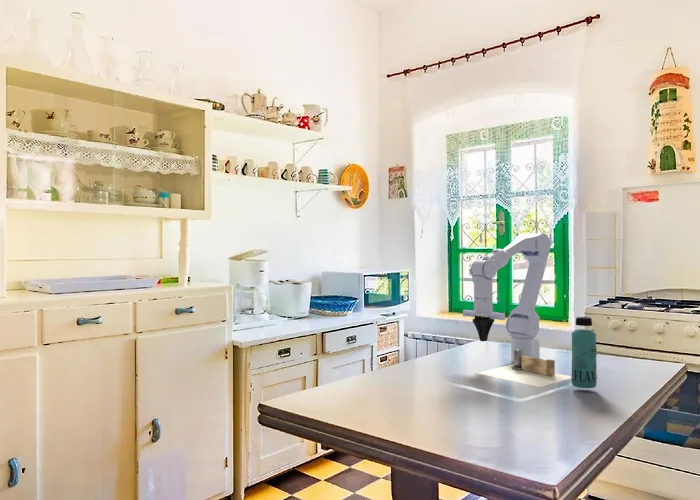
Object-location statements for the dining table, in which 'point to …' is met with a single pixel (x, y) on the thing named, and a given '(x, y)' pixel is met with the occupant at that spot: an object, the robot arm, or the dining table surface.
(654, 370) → the dining table surface
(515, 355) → the hinge post
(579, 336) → the beverage bottle
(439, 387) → the dining table surface
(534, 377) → the board
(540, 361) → the tan wooden bar
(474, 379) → the dining table surface
